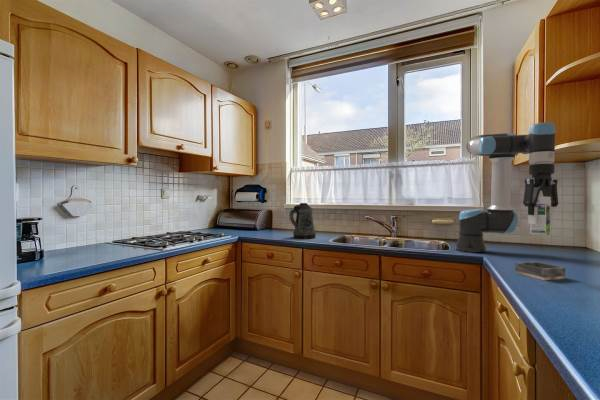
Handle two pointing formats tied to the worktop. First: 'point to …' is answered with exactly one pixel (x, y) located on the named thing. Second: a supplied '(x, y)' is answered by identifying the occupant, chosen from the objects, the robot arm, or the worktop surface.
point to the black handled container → (303, 222)
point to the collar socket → (540, 270)
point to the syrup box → (542, 217)
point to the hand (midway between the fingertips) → (540, 223)
